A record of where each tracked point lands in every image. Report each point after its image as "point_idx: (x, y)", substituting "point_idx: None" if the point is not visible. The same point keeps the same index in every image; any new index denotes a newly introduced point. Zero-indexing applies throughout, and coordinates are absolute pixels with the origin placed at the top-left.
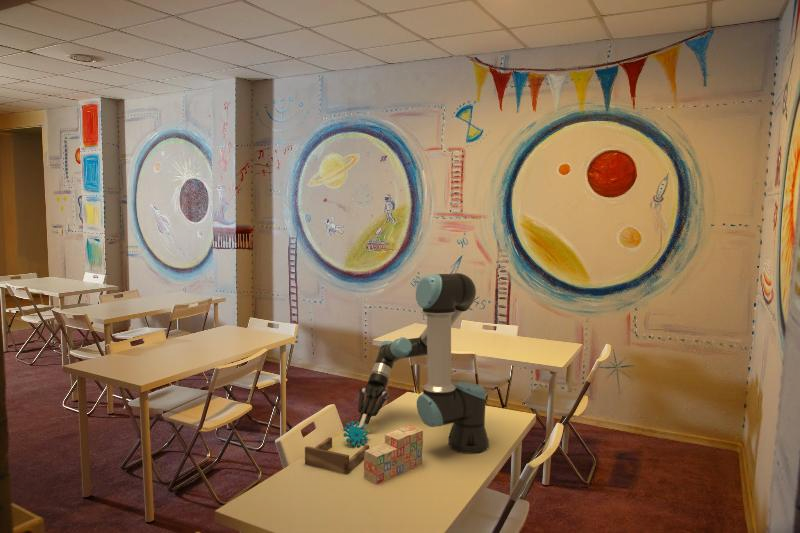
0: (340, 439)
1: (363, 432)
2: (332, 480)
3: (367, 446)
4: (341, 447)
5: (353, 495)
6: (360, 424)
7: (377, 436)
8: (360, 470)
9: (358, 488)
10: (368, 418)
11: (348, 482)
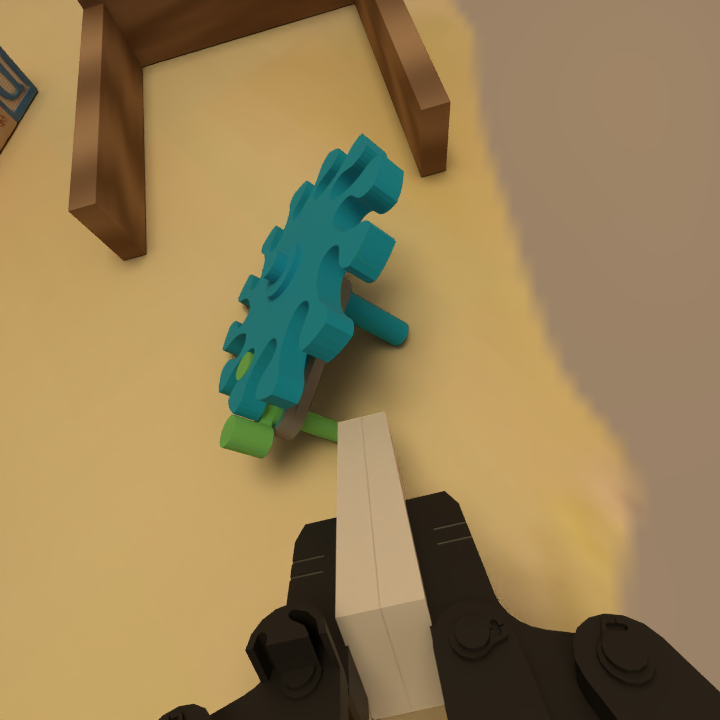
0: (481, 299)
1: (257, 370)
2: None
3: (72, 188)
4: None
5: (24, 3)
6: (374, 450)
7: (239, 597)
8: None
9: (26, 35)
10: (294, 594)
11: None
